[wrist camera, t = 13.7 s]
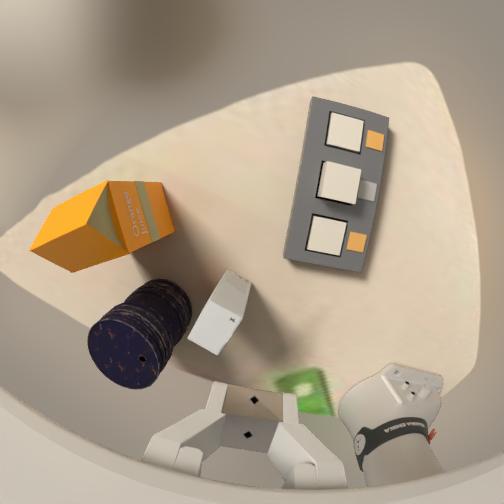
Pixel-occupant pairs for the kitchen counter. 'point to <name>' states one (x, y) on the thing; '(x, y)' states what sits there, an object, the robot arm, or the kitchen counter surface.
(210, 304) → the skincare box
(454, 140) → the kitchen counter surface
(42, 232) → the orange juice
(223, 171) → the kitchen counter surface
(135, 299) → the dark blue cylinder
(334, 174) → the middle button
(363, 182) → the button panel
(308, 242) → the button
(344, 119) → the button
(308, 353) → the kitchen counter surface
